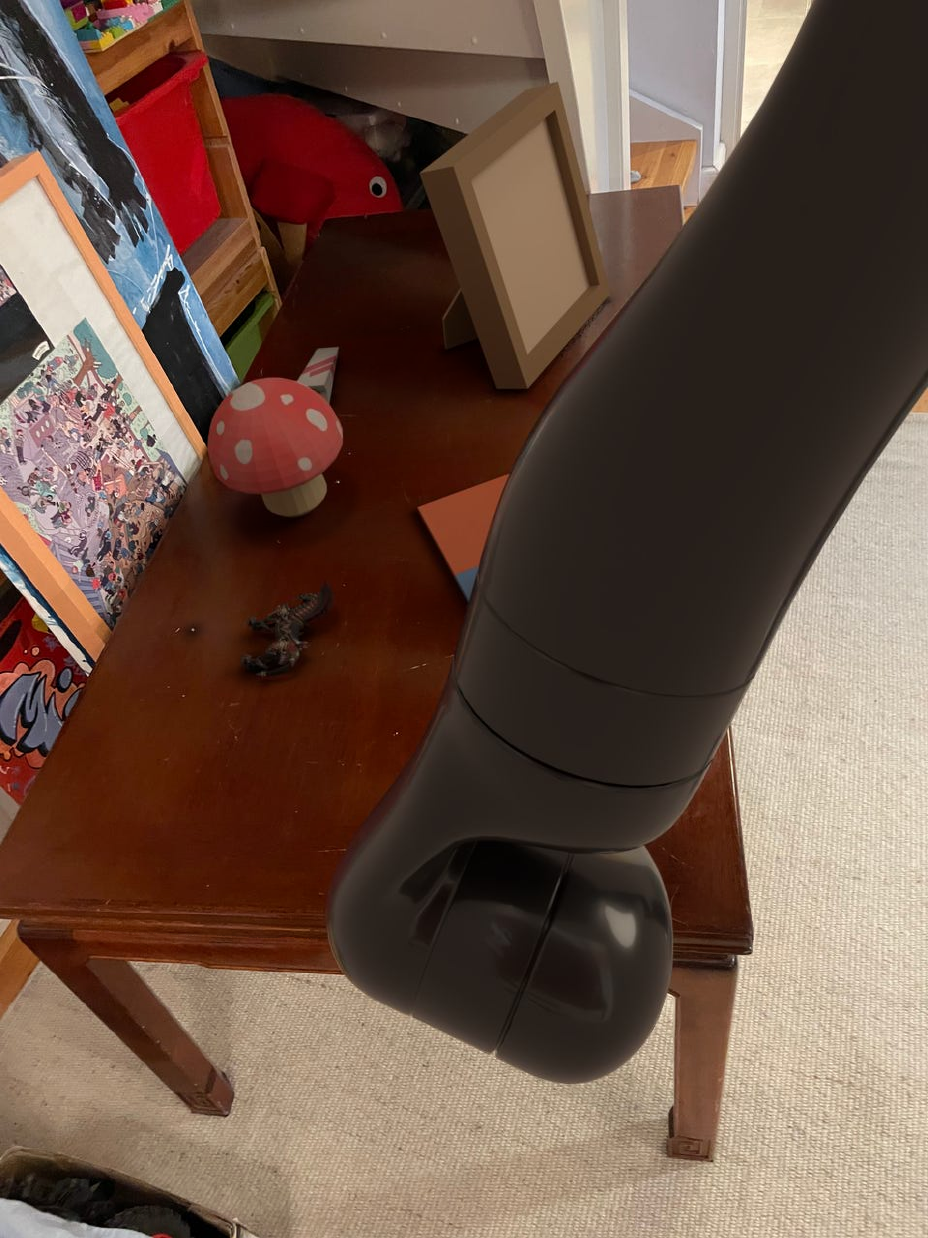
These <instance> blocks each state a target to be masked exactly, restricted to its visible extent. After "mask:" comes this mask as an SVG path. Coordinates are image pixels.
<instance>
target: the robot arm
mask: <svg viewBox="0 0 928 1238" xmlns="http://www.w3.org/2000/svg"><path fill="white" fill-rule="evenodd" d="M605 324H606V325H605V326H604V327H603V328H602V329H601V331H600V332H599V333H598V334H597V336H596V337H595V338H594V340H593V341H592V342H591V344H590V345H589V346H588V348H587V349H586V350H585V351H584V353H583V354H582V355H581V357H580V358H579V360H578V361H577V362H576V363H575V365H573V367H572V368H571V370H569V372H568V374H566V376H565V377H564V379H563V380H562V382H561V383H560V384H559V386H558V388H557V389H556V390H555V391H554V393H553V395H552V396H551V398H550V399H549V401H548V402H547V404H546V405H545V407H544V408H543V410H542V411H541V413H540V415H539V417H538V419H537V420H536V421H535V423H534V424H533V427H532V428H531V429H530V432H529V433H528V435H527V437H526V438H525V441H524V443H523V445H522V446H521V449H520V450H519V453H518V455H517V456H516V458H515V460H514V462H513V464H512V467H511V469H510V471H509V473H508V474H509V476H508V478H507V481H506V483H505V485H504V488H503V490H502V492H501V495H500V498H499V501H498V504H497V507H496V510H495V513H494V515H493V518H492V521H491V524H490V527H489V531H488V534H487V538H486V541H485V545H484V548H483V552H482V555H481V558H480V562H479V567H478V570H477V574H476V577H475V581H474V585H473V588H472V592H471V595H470V599H469V603H468V602H467V606H466V610H465V614H464V618H463V621H462V624H461V628H460V632H459V635H458V639H457V643H456V647H455V650H454V653H453V656H452V660H451V664H450V668H449V671H448V674H447V678H446V681H445V683H444V686H443V689H442V692H441V695H440V697H439V700H438V702H437V705H436V707H435V709H434V712H433V714H432V717H431V718H430V720H429V723H428V725H427V727H426V729H425V731H424V733H423V735H422V737H421V739H420V740H419V742H418V744H417V745H416V748H415V749H414V751H413V753H412V754H411V756H410V758H409V759H408V760H407V762H406V763H405V765H404V766H403V768H402V770H401V772H400V773H399V774H398V776H397V777H396V778H395V779H394V781H393V783H392V784H391V785H390V786H389V788H388V789H387V790H386V792H384V794H383V795H382V797H381V798H380V799H379V800H378V802H377V803H376V804H375V806H374V807H373V808H372V810H371V811H370V812H369V814H368V815H367V816H366V818H365V819H364V821H363V822H361V825H360V827H359V828H358V829H357V831H356V832H355V834H354V836H352V839H351V840H350V841H349V843H348V845H347V847H346V849H345V850H344V852H343V854H342V855H341V857H340V859H339V861H338V863H337V864H336V865H337V866H336V868H335V870H334V873H333V875H332V877H331V880H330V884H329V887H328V890H327V895H326V900H325V906H324V907H325V908H324V922H325V923H324V925H325V931H326V937H327V942H328V944H329V948H330V951H331V953H332V956H333V958H334V960H335V962H336V964H337V966H338V968H339V969H340V971H341V972H342V974H343V975H344V977H345V978H346V979H347V980H348V981H349V982H350V983H351V984H352V985H353V986H354V987H355V988H356V989H358V990H359V991H360V992H362V993H363V994H364V995H366V996H367V997H369V998H370V999H372V1000H374V1001H376V1002H377V1003H379V1004H382V1005H384V1006H386V1007H388V1008H390V1009H392V1010H394V1011H396V1012H399V1013H401V1014H403V1015H406V1016H407V1017H412V1019H415V1020H417V1021H419V1022H421V1023H423V1024H424V1025H427V1026H429V1027H431V1028H433V1029H435V1030H437V1031H439V1032H441V1033H443V1034H446V1035H448V1036H450V1037H452V1038H453V1039H456V1040H458V1041H460V1042H462V1043H464V1044H466V1045H468V1046H470V1047H472V1048H474V1049H476V1050H478V1051H480V1052H482V1053H484V1054H486V1055H488V1056H490V1055H492V1054H493V1053H494V1057H495V1058H496V1059H497V1060H499V1061H501V1062H503V1063H505V1064H507V1065H508V1066H511V1067H513V1068H516V1069H517V1070H519V1071H521V1072H524V1073H525V1074H527V1075H530V1076H532V1077H535V1078H537V1079H540V1080H544V1081H547V1082H551V1083H555V1084H562V1085H580V1084H587V1083H590V1082H594V1081H597V1080H600V1079H602V1078H605V1077H607V1076H609V1075H610V1074H612V1073H614V1072H615V1071H617V1070H619V1069H620V1068H622V1067H623V1066H624V1065H626V1064H627V1063H629V1061H631V1060H632V1058H633V1057H635V1055H636V1054H637V1053H638V1052H639V1051H640V1049H641V1048H642V1047H643V1046H644V1045H645V1043H646V1042H647V1040H648V1039H649V1037H650V1036H651V1034H652V1033H653V1031H654V1029H655V1028H656V1025H657V1023H658V1021H659V1019H660V1017H661V1013H662V1011H663V1008H664V1006H665V1003H666V1000H667V996H668V993H669V988H670V983H671V979H672V978H671V977H672V971H673V962H674V928H673V917H672V916H673V915H672V911H671V905H670V901H669V896H668V893H667V889H666V886H665V883H664V879H663V877H662V874H661V872H660V870H659V867H658V866H657V864H656V862H655V861H654V859H653V857H652V856H651V854H650V852H649V850H648V849H647V847H646V845H648V844H650V843H652V842H654V841H656V840H657V839H659V838H661V836H663V835H664V834H666V833H667V832H668V831H669V830H670V829H671V828H672V827H673V826H674V825H675V824H676V823H677V821H679V819H680V817H681V816H682V815H683V813H684V812H685V810H686V809H687V808H688V806H689V805H690V803H691V802H692V801H693V799H694V796H695V794H696V793H697V791H698V790H699V787H700V785H701V784H702V782H703V780H704V777H705V776H706V774H707V772H708V770H709V768H710V766H711V764H712V762H713V759H714V757H715V755H716V754H717V751H718V749H719V747H720V745H721V744H722V742H723V740H724V738H725V735H726V734H727V732H728V730H729V728H730V726H731V724H732V722H733V720H734V718H735V716H736V714H737V712H738V710H739V708H740V706H741V704H742V703H743V700H744V698H745V697H746V694H747V693H748V691H749V689H750V687H751V684H752V683H753V681H754V679H755V677H756V675H757V673H758V671H759V669H760V667H761V666H762V664H763V662H764V659H765V658H766V655H767V653H768V652H769V649H770V647H771V646H772V644H773V641H774V640H775V638H776V636H777V633H778V631H779V629H780V627H781V625H782V623H783V622H784V619H785V617H786V615H787V613H788V611H789V609H790V608H791V605H792V604H793V602H794V601H795V598H796V597H797V594H798V593H799V590H800V589H801V587H802V585H803V584H804V581H805V580H806V578H807V576H808V575H809V573H810V571H811V570H812V568H813V566H814V564H815V562H816V560H817V558H818V556H819V555H820V553H821V551H822V549H823V548H824V546H825V544H826V542H827V540H828V539H829V537H830V535H831V534H832V532H833V531H834V529H835V527H836V526H837V524H838V523H839V521H840V519H841V518H842V516H843V514H844V513H845V511H846V509H847V507H848V506H849V505H850V503H851V501H852V500H853V498H854V496H855V495H856V494H857V491H858V490H859V488H860V487H861V485H862V483H863V482H864V480H865V478H866V477H867V475H868V474H869V472H870V471H871V469H872V468H873V466H874V465H875V464H876V462H877V461H878V459H879V458H880V456H881V455H882V454H883V452H884V450H885V449H886V447H887V446H888V445H889V443H890V442H891V440H892V439H893V437H894V436H895V434H896V433H897V431H898V430H899V428H900V427H901V426H902V424H903V423H904V421H906V418H907V417H908V416H909V415H910V413H911V411H912V410H913V409H914V407H915V406H916V404H917V403H918V401H919V400H920V399H921V398H922V396H923V394H924V393H925V392H926V390H927V389H928V0H812V2H811V4H810V7H809V8H808V11H807V13H806V15H805V18H804V20H803V22H802V24H801V26H800V28H799V30H798V32H797V34H796V37H795V39H794V41H793V43H792V46H791V47H790V49H789V52H788V53H787V55H786V57H785V59H784V61H783V63H782V65H781V67H780V69H779V71H778V72H777V74H776V76H775V78H774V80H773V81H772V84H771V85H770V87H769V89H768V91H767V93H766V94H765V96H764V98H763V100H762V102H761V104H760V105H759V107H758V108H757V110H756V112H755V113H754V115H753V116H752V118H751V120H750V121H749V123H748V125H747V126H746V128H745V129H744V131H743V133H742V134H741V136H740V137H739V139H738V141H737V142H736V144H735V146H734V147H733V149H732V151H731V152H730V153H729V155H728V157H727V159H726V160H725V161H724V163H723V165H722V166H721V168H720V170H719V171H718V173H717V174H716V176H715V177H714V180H713V181H712V183H711V184H710V186H709V187H708V189H707V190H706V192H705V194H704V196H703V197H702V199H701V200H700V201H699V203H698V204H697V205H696V207H695V208H694V210H693V211H692V212H691V214H690V215H689V216H688V218H687V219H686V220H685V222H684V224H683V225H682V226H681V228H680V229H679V230H678V231H677V233H676V234H675V236H674V237H673V239H672V240H671V241H670V243H669V244H668V246H667V247H666V248H665V249H664V251H663V252H662V253H661V255H660V256H659V258H658V259H657V261H656V262H655V264H654V265H653V266H652V267H651V269H650V270H649V271H648V272H647V273H646V274H645V276H644V277H643V279H641V281H640V282H639V284H638V285H637V286H636V287H635V288H634V290H633V291H632V292H631V293H630V295H628V297H627V298H626V300H625V301H624V302H623V303H622V304H621V306H620V307H619V308H618V309H617V311H616V312H615V313H614V315H612V317H611V318H610V320H609V321H608V322H607V323H605Z"/></svg>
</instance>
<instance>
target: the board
mask: <svg viewBox="0 0 928 1238" xmlns="http://www.w3.org/2000/svg"><path fill="white" fill-rule="evenodd" d="M509 474H510V473H506V474H504V475H501V476H499V477H496V478H494V479H491V480H488V481H485V482H483V483H480V484H477V485H475V486H472V487H469V488H466V489H463V490H461V491H458V492H455V493H453V494H450V495H447V496H444V497H441V498H439V499H436V500H434V501H431V502H428V503H425V504H423V505H420V506H417V511H418V514H419V516H420V518H421V520H422V521H423V524H424V525H425V527H426V528H427V530H428V533H429V534H430V537H431V538H432V539H433V542H434V543H435V545H436V547H437V549H438V550H439V552H440V554H441V556H442V558H443V560H444V561H445V563H446V566H448V569H449V570H450V572H451V575H452V576H453V578H454V580H455V581H456V583H457V585H458V587H459V589H460V590H461V593H462V594H463V596H464V599H465V600H466V602H467V604H468V603H469V599H470V595H471V592H472V588H473V585H474V581H475V577H476V574H477V570H478V567H479V562H480V558H481V555H482V552H483V548H484V545H485V541H486V538H487V534H488V531H489V527H490V524H491V521H492V518H493V515H494V513H495V510H496V507H497V504H498V501H499V498H500V495H501V492H502V490H503V488H504V485H505V483H506V481H507V478H508V476H509Z"/></svg>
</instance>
